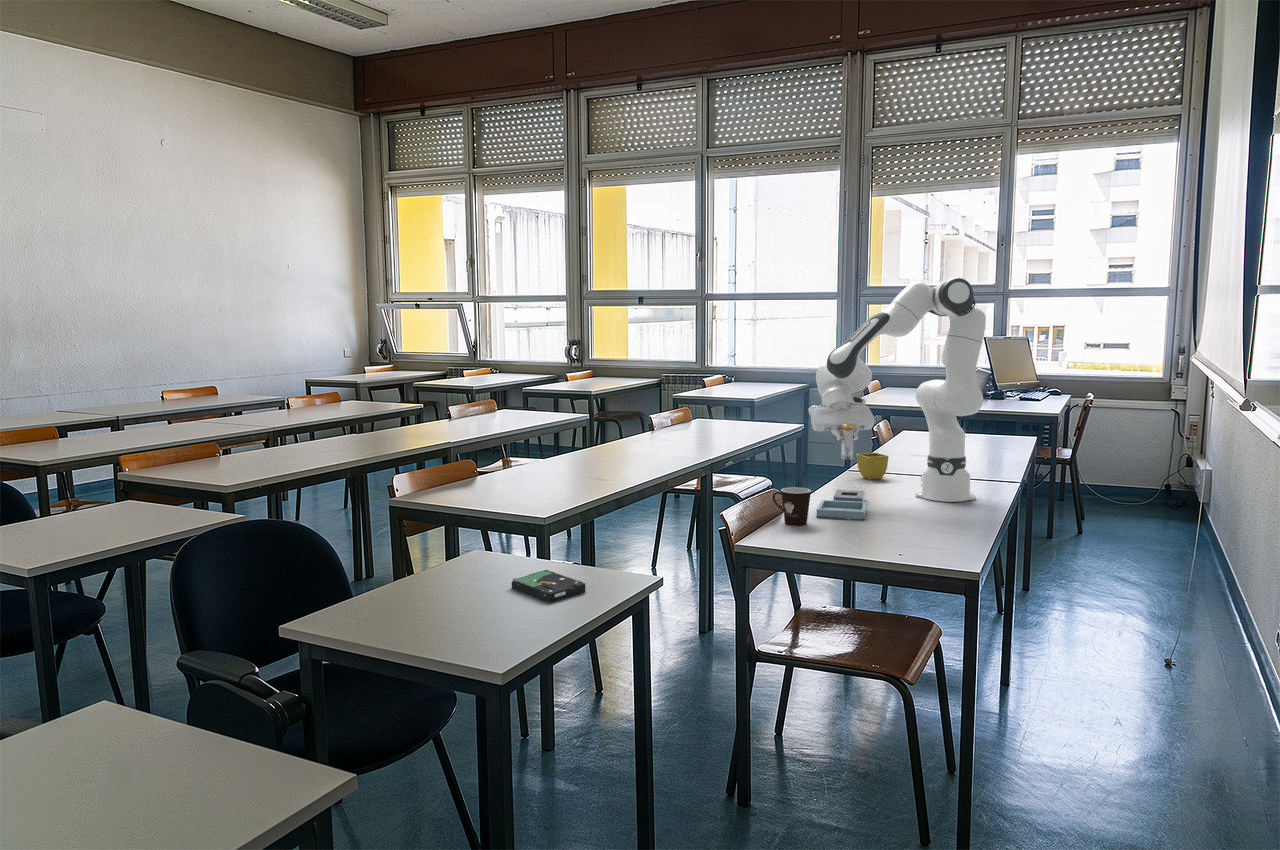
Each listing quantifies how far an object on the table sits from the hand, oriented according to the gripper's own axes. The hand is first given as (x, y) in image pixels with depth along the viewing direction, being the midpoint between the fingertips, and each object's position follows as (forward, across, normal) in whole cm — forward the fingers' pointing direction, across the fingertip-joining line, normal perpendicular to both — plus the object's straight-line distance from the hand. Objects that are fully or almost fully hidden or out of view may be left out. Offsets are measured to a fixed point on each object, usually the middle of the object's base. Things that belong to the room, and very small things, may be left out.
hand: (848, 439), depth 270 cm
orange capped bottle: (+4, 0, +5) cm, 6 cm away
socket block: (+13, +2, +18) cm, 22 cm away
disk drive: (+64, -98, -32) cm, 121 cm away
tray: (+22, -6, +8) cm, 25 cm away
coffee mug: (+28, -24, +3) cm, 37 cm away
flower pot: (-14, +27, +45) cm, 54 cm away
